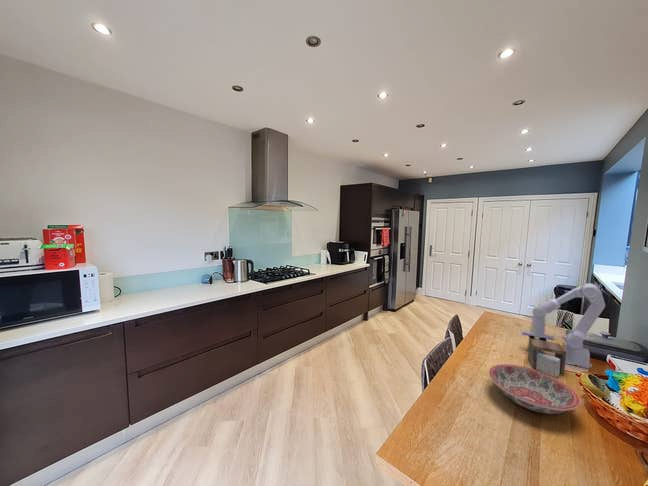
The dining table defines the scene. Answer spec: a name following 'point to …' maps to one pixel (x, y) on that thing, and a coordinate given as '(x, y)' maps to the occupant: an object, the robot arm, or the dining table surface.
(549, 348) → the low cabinet
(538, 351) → the steel block
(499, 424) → the dining table surface
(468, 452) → the dining table surface
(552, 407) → the ceramic bowl
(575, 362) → the robot arm
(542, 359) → the medicine box
